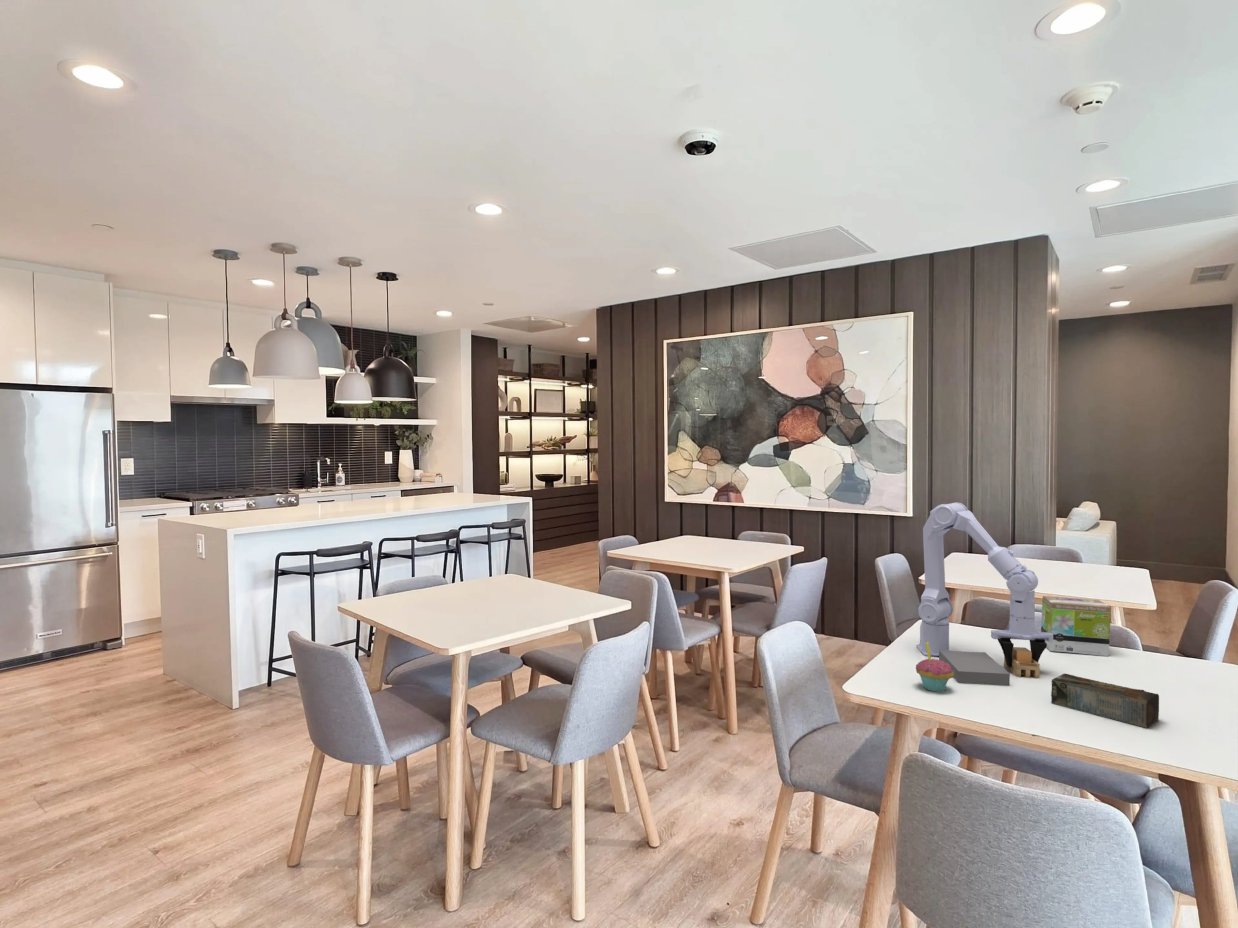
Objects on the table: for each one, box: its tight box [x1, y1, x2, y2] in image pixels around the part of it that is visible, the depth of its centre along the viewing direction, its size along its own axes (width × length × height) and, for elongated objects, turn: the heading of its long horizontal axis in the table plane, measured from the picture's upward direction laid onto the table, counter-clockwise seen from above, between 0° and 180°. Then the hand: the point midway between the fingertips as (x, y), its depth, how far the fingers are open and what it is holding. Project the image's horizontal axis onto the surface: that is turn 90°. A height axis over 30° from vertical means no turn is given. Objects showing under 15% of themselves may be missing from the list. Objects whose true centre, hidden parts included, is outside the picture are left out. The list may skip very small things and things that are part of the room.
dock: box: [938, 650, 1011, 687], centre depth 183 cm, size 18×12×3 cm, turn 169°
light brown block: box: [1012, 646, 1032, 663], centre depth 184 cm, size 4×4×3 cm
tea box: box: [1040, 595, 1112, 657], centre depth 203 cm, size 15×10×15 cm, turn 73°
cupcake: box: [915, 639, 954, 692], centre depth 172 cm, size 9×8×12 cm
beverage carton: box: [1050, 673, 1160, 729], centre depth 157 cm, size 8×19×7 cm, turn 38°
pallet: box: [1003, 656, 1041, 679], centre depth 184 cm, size 9×5×4 cm, turn 170°
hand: (1021, 666), depth 184 cm, fingers closed on pallet, 5 cm apart
